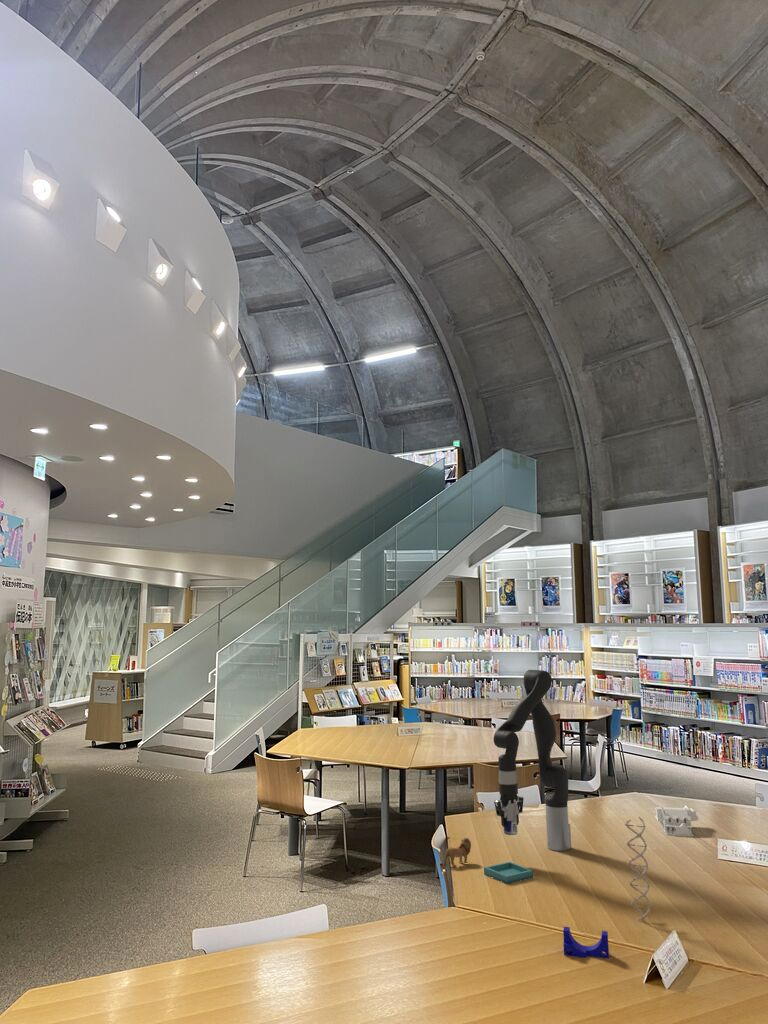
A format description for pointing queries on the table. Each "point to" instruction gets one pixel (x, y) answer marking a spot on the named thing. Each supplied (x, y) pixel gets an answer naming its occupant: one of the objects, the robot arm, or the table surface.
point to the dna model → (637, 870)
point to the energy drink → (511, 820)
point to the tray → (508, 872)
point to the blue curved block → (582, 951)
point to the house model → (676, 820)
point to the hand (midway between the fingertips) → (510, 825)
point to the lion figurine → (458, 852)
